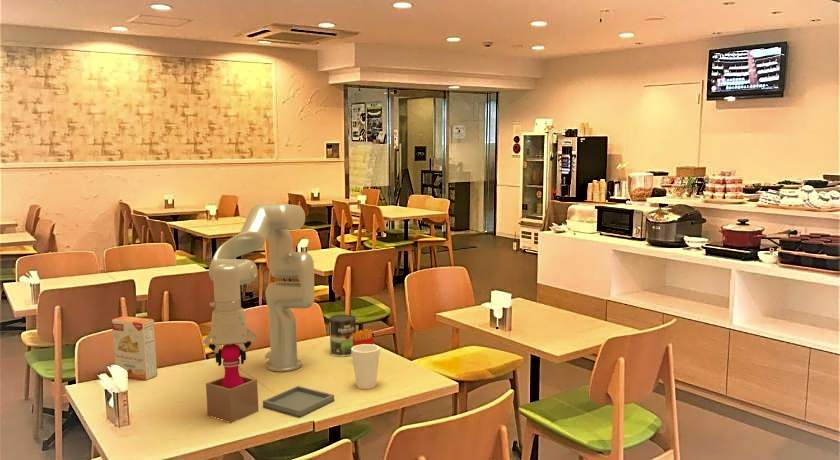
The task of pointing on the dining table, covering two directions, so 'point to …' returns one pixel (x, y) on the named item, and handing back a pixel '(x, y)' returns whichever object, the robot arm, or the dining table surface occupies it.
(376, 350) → the foam cup
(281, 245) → the robot arm
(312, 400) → the tray
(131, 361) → the cracker box
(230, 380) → the pepper mill
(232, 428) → the dining table surface
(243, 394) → the open box
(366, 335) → the french fries
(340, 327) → the coffee can
